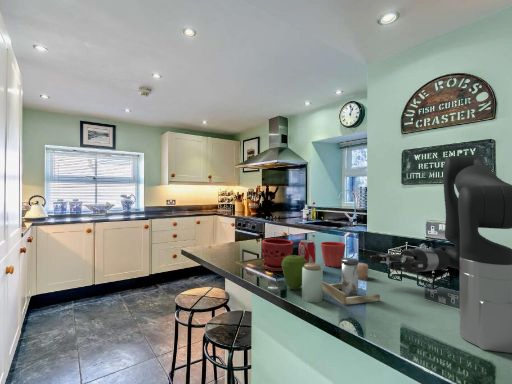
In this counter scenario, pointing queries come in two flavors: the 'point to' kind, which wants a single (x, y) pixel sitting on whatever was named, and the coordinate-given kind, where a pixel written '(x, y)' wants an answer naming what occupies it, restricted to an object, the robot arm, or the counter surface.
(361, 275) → the terracotta tin
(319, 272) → the sage jar
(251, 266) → the counter surface
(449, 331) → the counter surface
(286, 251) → the plant pot
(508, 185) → the robot arm
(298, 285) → the green bell pepper
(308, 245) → the soda can
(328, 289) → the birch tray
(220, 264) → the counter surface
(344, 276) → the steel canister
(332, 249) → the flower pot
